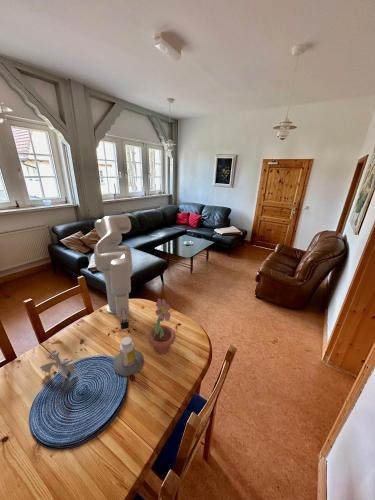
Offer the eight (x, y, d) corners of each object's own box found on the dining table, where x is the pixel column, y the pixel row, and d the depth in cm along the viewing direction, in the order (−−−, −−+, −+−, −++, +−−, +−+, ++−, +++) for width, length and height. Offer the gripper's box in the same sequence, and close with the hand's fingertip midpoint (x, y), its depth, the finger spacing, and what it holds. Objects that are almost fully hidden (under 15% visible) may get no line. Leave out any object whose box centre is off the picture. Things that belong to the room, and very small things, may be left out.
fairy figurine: (71, 391, 83) (47, 371, 77) (48, 384, 92) (25, 366, 86) (88, 367, 90) (67, 347, 84) (65, 362, 99) (45, 345, 93)
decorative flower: (170, 364, 99) (171, 314, 88) (143, 358, 101) (141, 309, 90) (177, 340, 113) (179, 294, 101) (154, 335, 115) (153, 290, 104)
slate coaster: (112, 354, 103) (112, 353, 102) (141, 347, 107) (141, 346, 107) (113, 380, 90) (113, 378, 90) (145, 371, 95) (145, 369, 95)
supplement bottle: (137, 355, 102) (136, 336, 97) (132, 367, 95) (131, 347, 91) (124, 354, 102) (122, 334, 97) (118, 366, 96) (116, 345, 91)
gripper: (111, 278, 90) (114, 309, 97) (112, 302, 75) (115, 337, 82) (128, 276, 92) (130, 306, 99) (133, 298, 78) (135, 333, 84)
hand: (124, 320), depth 90 cm, fingers open, 9 cm apart
